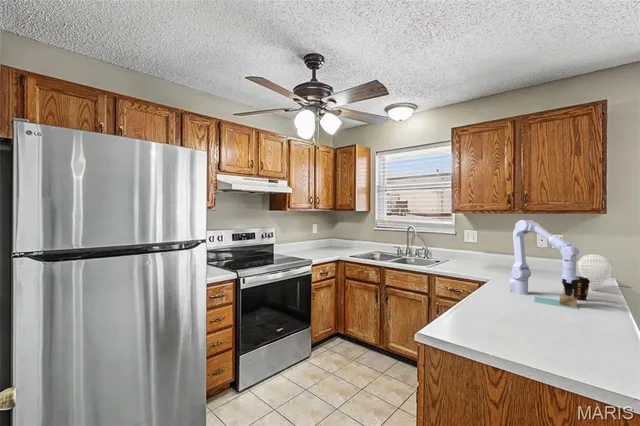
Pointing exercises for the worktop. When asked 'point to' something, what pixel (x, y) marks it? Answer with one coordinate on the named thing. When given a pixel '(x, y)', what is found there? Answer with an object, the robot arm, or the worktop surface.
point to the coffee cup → (581, 288)
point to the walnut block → (568, 301)
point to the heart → (603, 260)
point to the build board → (552, 302)
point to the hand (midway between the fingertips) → (568, 294)
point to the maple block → (567, 296)
